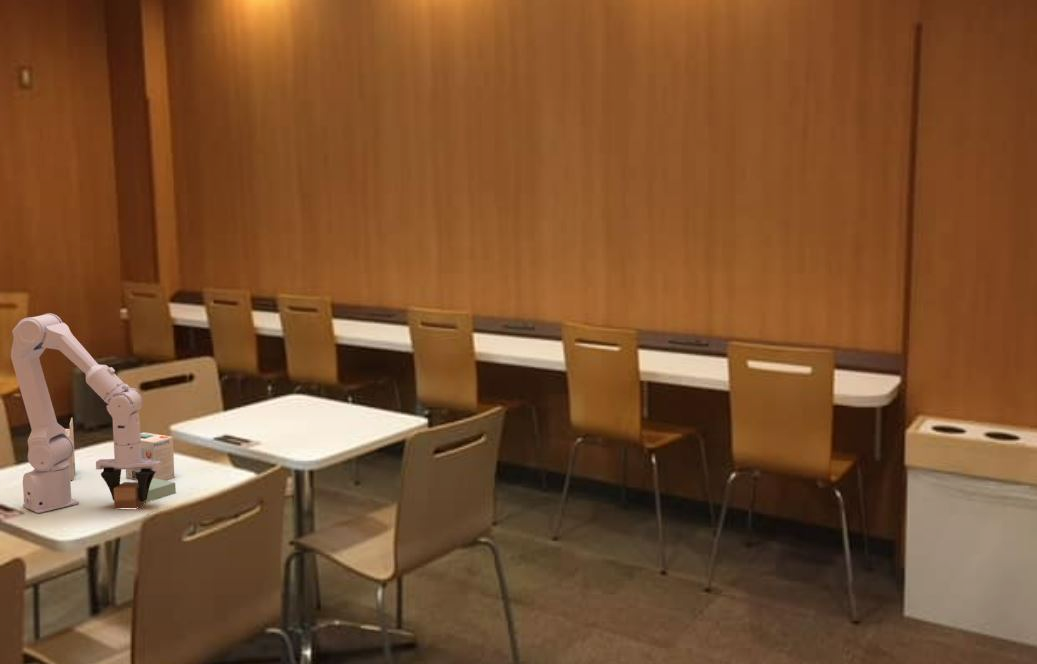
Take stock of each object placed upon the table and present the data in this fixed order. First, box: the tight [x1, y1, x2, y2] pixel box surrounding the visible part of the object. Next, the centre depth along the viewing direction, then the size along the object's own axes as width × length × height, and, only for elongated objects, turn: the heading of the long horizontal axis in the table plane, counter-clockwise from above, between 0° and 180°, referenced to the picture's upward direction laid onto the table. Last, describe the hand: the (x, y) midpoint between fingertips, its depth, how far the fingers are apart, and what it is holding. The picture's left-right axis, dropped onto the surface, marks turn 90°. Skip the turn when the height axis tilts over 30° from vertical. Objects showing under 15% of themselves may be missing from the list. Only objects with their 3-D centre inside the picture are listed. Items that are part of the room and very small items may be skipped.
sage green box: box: [135, 478, 177, 503], centre depth 227 cm, size 9×9×3 cm
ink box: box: [65, 417, 76, 481], centre depth 241 cm, size 9×5×15 cm, turn 22°
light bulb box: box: [125, 431, 176, 481], centre depth 241 cm, size 11×7×11 cm, turn 62°
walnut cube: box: [113, 481, 147, 509], centre depth 218 cm, size 5×5×5 cm
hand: (130, 499), depth 219 cm, fingers open, 6 cm apart
